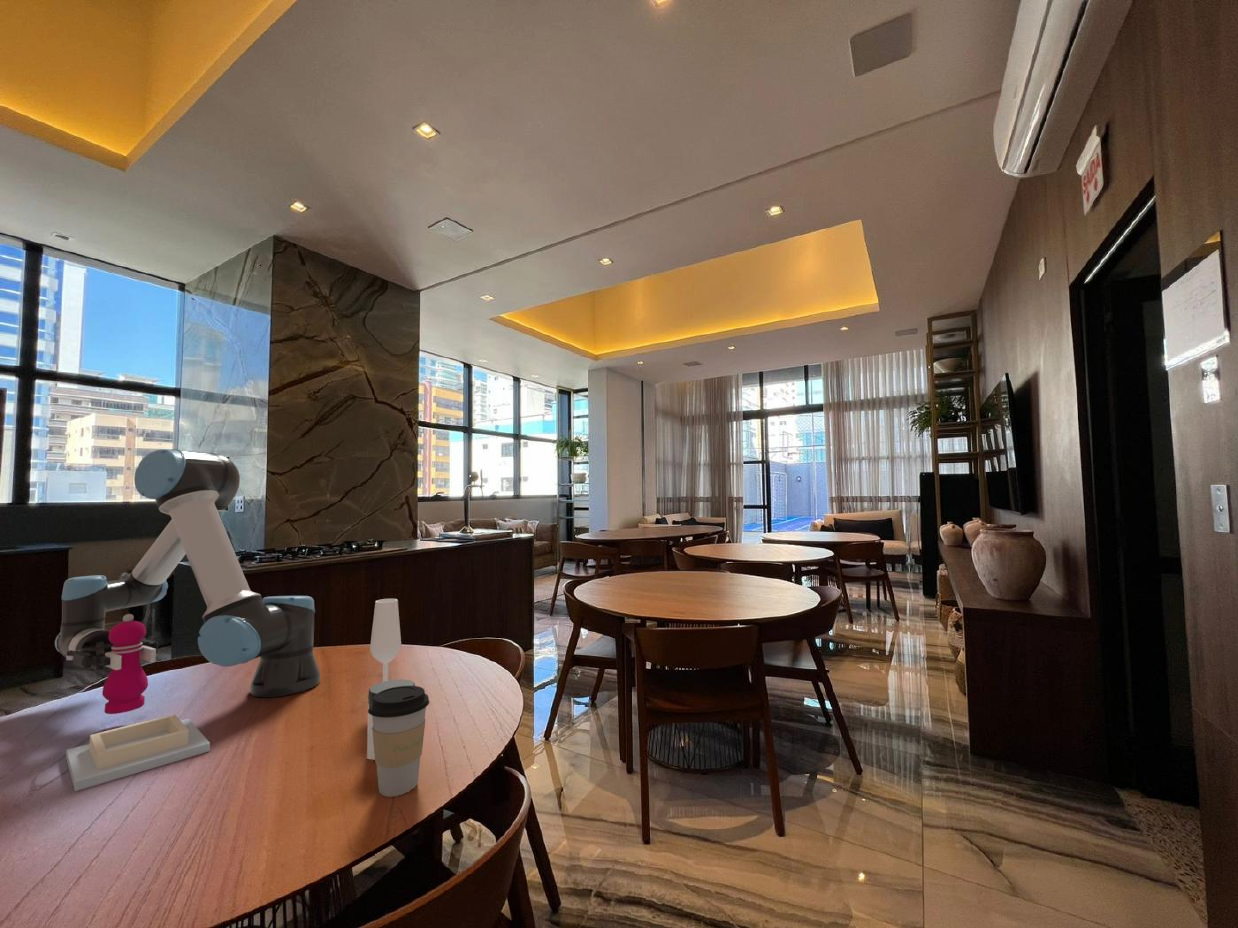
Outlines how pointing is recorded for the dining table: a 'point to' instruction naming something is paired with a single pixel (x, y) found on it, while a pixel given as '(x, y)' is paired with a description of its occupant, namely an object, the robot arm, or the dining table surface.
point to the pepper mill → (126, 668)
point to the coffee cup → (398, 737)
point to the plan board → (134, 750)
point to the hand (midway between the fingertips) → (136, 659)
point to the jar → (372, 693)
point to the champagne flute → (385, 633)
